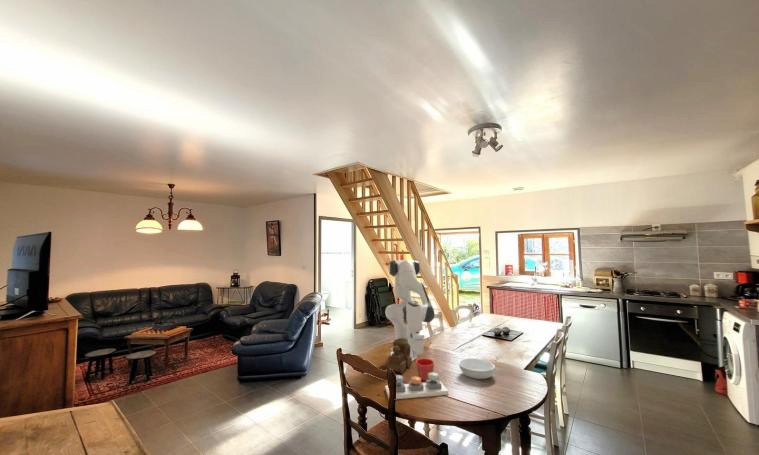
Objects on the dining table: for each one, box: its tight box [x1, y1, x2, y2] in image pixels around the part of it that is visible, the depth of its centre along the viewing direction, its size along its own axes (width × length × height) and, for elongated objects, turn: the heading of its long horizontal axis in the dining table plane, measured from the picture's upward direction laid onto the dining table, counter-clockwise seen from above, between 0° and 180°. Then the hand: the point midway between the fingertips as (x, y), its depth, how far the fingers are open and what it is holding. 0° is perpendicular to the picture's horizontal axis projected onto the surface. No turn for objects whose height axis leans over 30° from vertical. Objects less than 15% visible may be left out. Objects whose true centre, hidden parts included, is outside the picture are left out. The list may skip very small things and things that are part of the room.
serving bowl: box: [458, 358, 496, 380], centre depth 186 cm, size 21×21×7 cm
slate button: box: [395, 374, 404, 386], centre depth 165 cm, size 6×6×4 cm
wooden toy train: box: [386, 339, 413, 374], centre depth 199 cm, size 20×11×17 cm, turn 152°
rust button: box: [410, 376, 422, 385], centre depth 166 cm, size 6×6×4 cm
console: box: [384, 379, 449, 400], centre depth 166 cm, size 12×32×4 cm, turn 98°
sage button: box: [428, 371, 439, 383], centre depth 168 cm, size 6×6×4 cm
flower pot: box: [415, 358, 435, 382], centre depth 183 cm, size 11×11×10 cm
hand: (415, 357), depth 167 cm, fingers closed
